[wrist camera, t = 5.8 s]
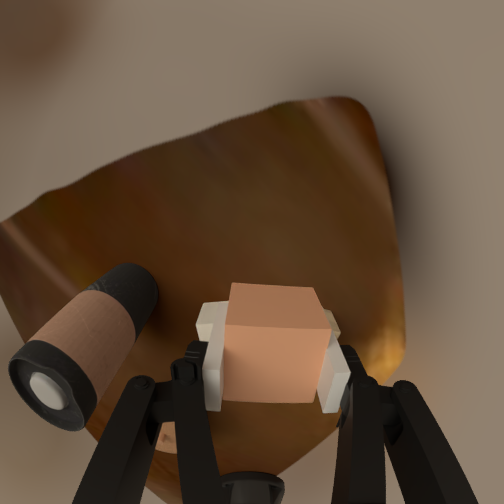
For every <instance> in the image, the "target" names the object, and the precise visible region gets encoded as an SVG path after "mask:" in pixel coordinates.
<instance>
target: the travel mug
mask: <svg viewBox="0 0 504 504" xmlns="http://www.w3.org/2000/svg"><path fill="white" fill-rule="evenodd" d="M157 300H158V288H157V285H156V282H155V280H154V279H153V277H152V276H151V275H150V273H149V272H148V271H147V270H145V269H144V268H142V267H141V266H139V265H136V264H132V263H123V264H120V265H118V266H116V267H114V268H113V269H112V270H110V271H109V272H107V273H106V274H105V275H103V276H102V277H101V278H99V279H98V280H97V281H95V282H94V283H93V284H91V285H90V286H89V287H87V288H86V289H85V290H83V291H82V292H81V293H80V294H78V295H77V296H76V297H75V298H74V299H73V300H71V301H70V302H69V303H68V304H67V305H66V306H65V307H64V308H63V309H61V310H60V311H59V312H58V313H57V314H56V315H55V316H54V317H53V318H52V319H51V320H50V321H49V322H47V323H46V324H45V325H44V326H43V327H42V328H41V329H40V330H39V331H38V332H37V333H36V334H35V335H34V336H33V337H32V338H31V339H30V340H29V341H28V342H27V343H26V344H25V345H24V346H23V347H22V348H21V349H20V350H19V351H18V352H17V353H16V354H15V355H14V356H13V357H12V358H11V360H10V361H9V365H8V371H9V376H10V379H11V381H12V383H13V385H14V387H15V389H16V390H17V392H18V394H19V395H20V396H21V398H22V399H23V400H24V402H25V403H26V404H27V405H28V406H29V407H30V408H31V409H32V410H33V411H34V412H35V413H36V414H38V415H39V416H40V417H41V418H43V419H44V420H46V421H47V422H49V423H50V424H53V425H54V426H57V427H58V428H61V429H64V430H67V431H79V430H81V429H83V428H84V426H85V425H86V423H87V422H88V420H89V418H90V416H91V415H92V413H93V411H94V409H95V408H96V406H97V404H98V403H99V401H100V399H101V397H102V396H103V394H104V392H105V391H106V389H107V387H108V386H109V384H110V382H111V381H112V379H113V377H114V376H115V374H116V372H117V371H118V369H119V368H120V366H121V364H122V363H123V361H124V359H125V358H126V356H127V355H128V353H129V351H130V350H131V348H132V347H133V345H134V343H135V341H136V340H137V338H138V336H139V334H140V332H141V331H142V329H143V327H144V325H145V323H146V322H147V320H148V318H149V316H150V315H151V313H152V311H153V309H154V307H155V305H156V303H157Z"/></svg>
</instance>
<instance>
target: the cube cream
mask: <svg viewBox="0 0 504 504" xmlns="http://www.w3.org/2000/svg"><path fill="white" fill-rule="evenodd" d="M220 303H229V301H222V302H220ZM218 304H219V302H210V303H203V306H202V308H201V311H200V314H199V317H198V320H197V322H196V328H197V332H198V336H199V340H200V341H207V342H209V339H210V335H211V331H212V327H213V323H214V320H215V316H216V312H217V308H218Z"/></svg>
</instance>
